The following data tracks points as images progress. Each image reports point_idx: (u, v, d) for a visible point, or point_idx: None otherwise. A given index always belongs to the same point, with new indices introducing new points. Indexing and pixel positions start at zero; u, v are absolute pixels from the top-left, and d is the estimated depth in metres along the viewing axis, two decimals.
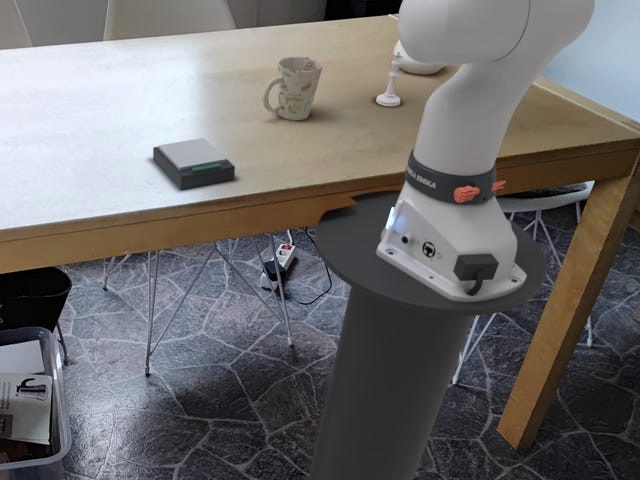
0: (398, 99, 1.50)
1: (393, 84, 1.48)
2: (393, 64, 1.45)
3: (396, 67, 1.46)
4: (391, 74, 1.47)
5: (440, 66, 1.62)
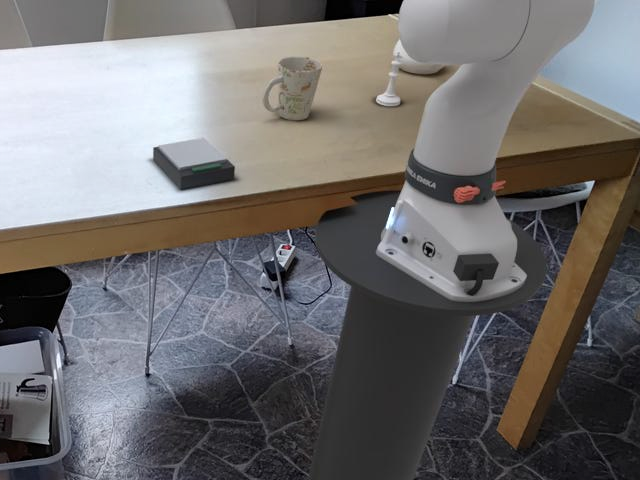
0: (398, 99, 1.50)
1: (393, 84, 1.48)
2: (393, 64, 1.45)
3: (396, 67, 1.46)
4: (391, 74, 1.47)
5: (440, 66, 1.62)
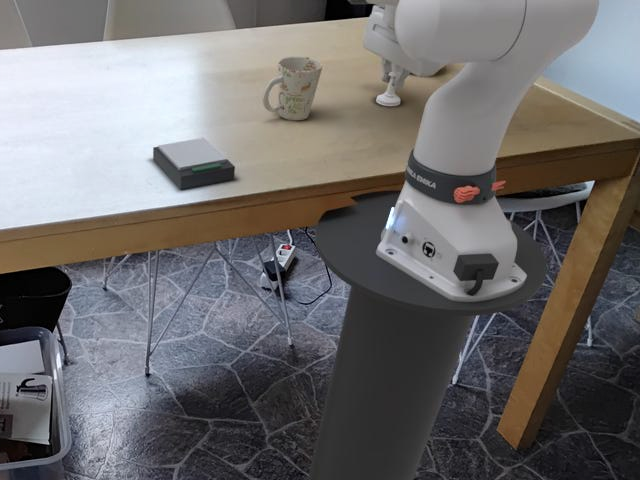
0: (398, 99, 1.50)
1: None
2: (393, 64, 1.45)
3: (396, 67, 1.46)
4: (391, 74, 1.47)
5: (440, 66, 1.62)
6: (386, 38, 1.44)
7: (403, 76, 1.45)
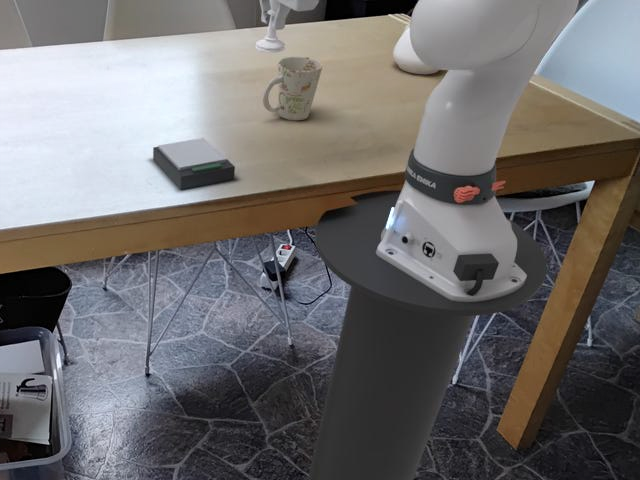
0: (281, 44, 1.22)
1: None
2: None
3: (275, 2, 1.18)
4: (270, 12, 1.19)
5: None
6: None
7: (282, 13, 1.17)
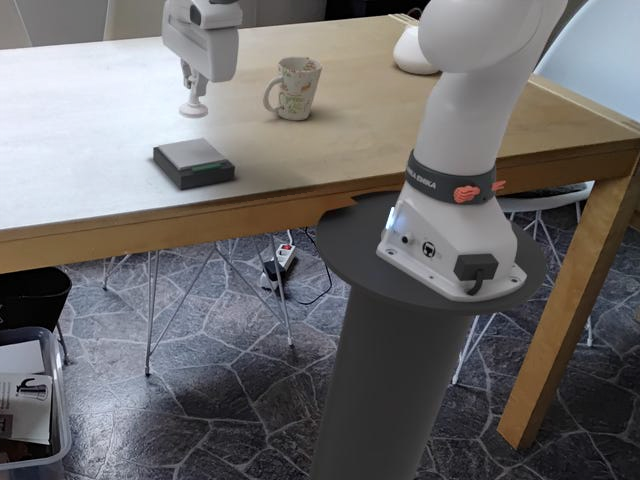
0: (204, 109, 1.19)
1: None
2: None
3: None
4: (190, 78, 1.16)
5: None
6: (180, 33, 1.14)
7: (202, 81, 1.14)
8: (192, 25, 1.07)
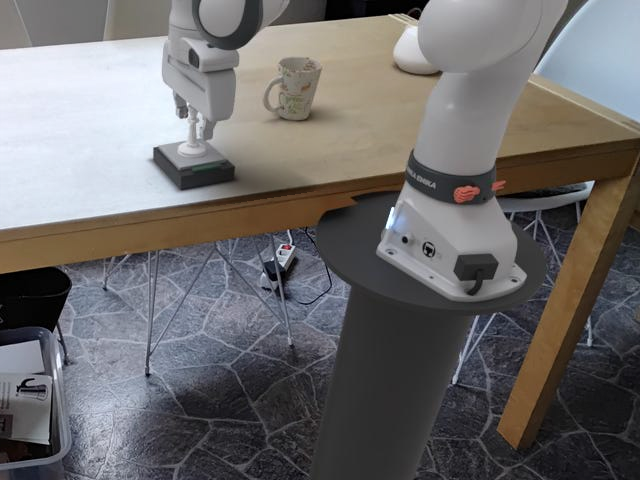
0: (202, 149, 1.24)
1: (193, 132, 1.22)
2: (189, 108, 1.19)
3: (193, 112, 1.20)
4: (189, 120, 1.21)
5: None
6: (179, 72, 1.18)
7: (209, 125, 1.16)
8: (191, 67, 1.11)
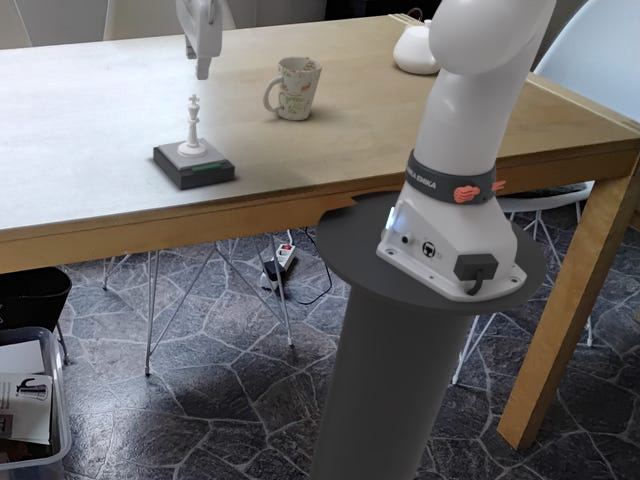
0: (202, 149, 1.24)
1: (193, 131, 1.22)
2: (189, 108, 1.19)
3: (193, 112, 1.20)
4: (189, 120, 1.21)
5: (440, 66, 1.62)
6: None
7: None
8: None
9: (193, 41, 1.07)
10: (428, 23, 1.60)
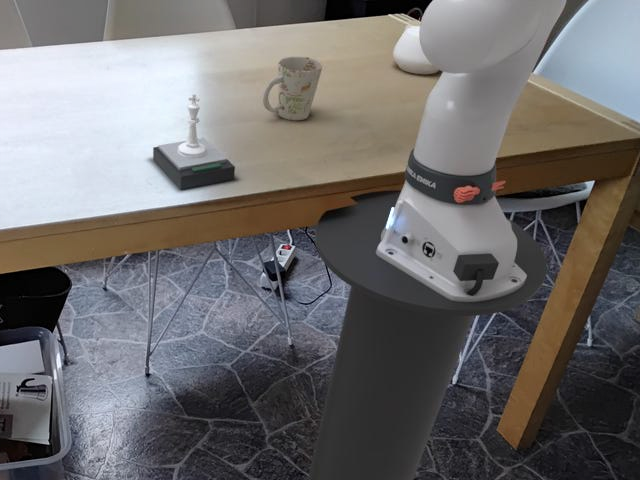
0: (202, 149, 1.24)
1: (193, 131, 1.22)
2: (189, 108, 1.19)
3: (193, 112, 1.20)
4: (189, 120, 1.21)
5: None
6: None
7: None
8: None
9: None
10: None
